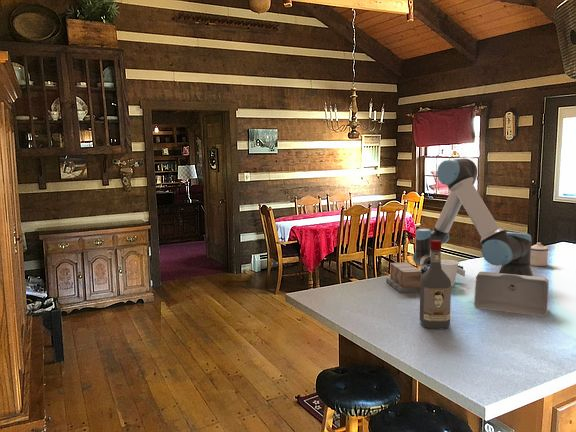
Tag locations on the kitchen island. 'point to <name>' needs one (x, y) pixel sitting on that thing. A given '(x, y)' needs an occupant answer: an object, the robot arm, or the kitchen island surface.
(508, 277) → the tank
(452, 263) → the cup
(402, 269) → the brown rectangular block
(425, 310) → the liquor
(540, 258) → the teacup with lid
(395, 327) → the kitchen island surface
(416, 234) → the robot arm
